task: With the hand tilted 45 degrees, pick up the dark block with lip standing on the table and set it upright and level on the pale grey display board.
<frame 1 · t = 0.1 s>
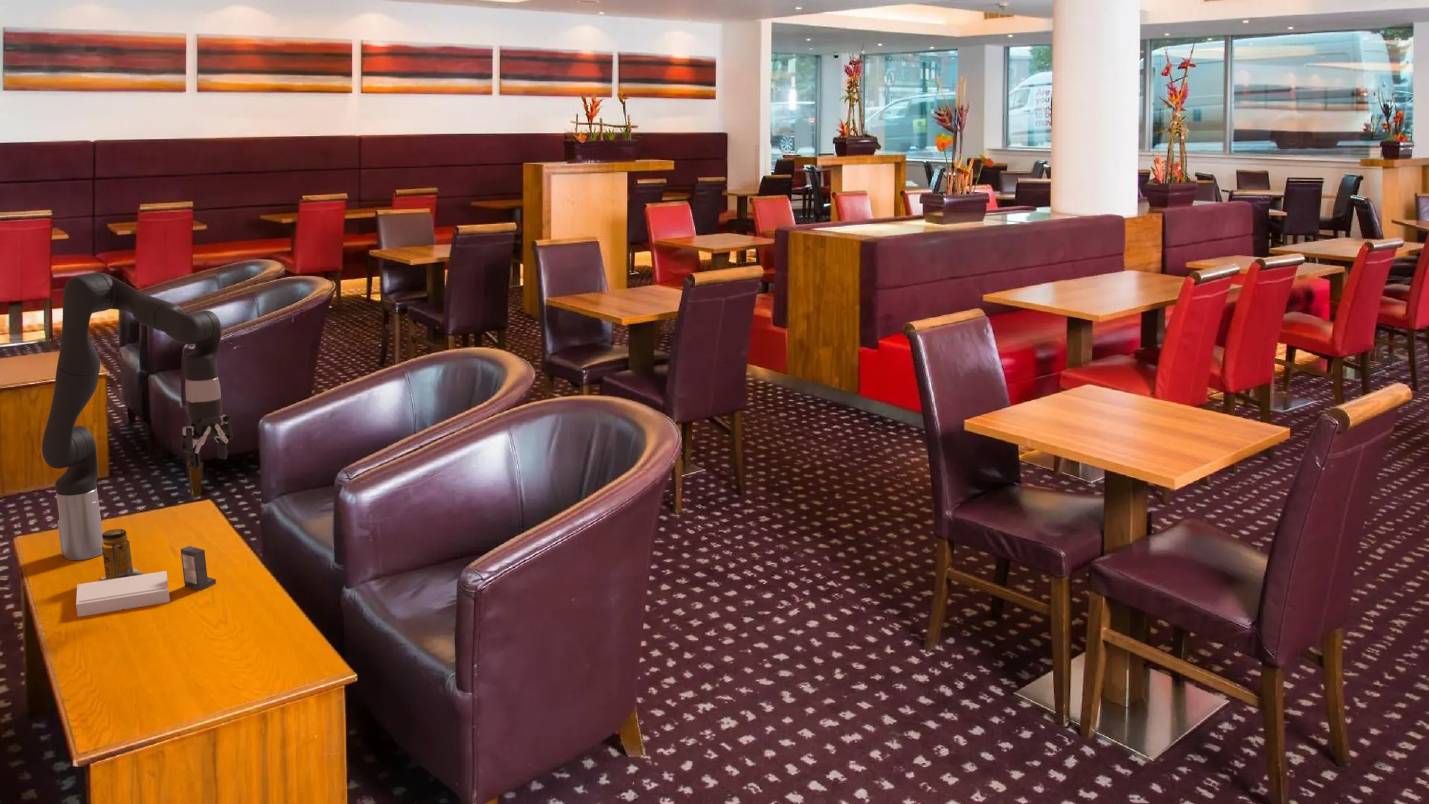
hand: (209, 463, 286), 29 cm above the table, tool pointing down, fingers open, 8 cm apart
display board: (124, 599, 281), on the table
dark block with lip: (196, 586, 288), on the table
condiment: (124, 578, 294), on the table
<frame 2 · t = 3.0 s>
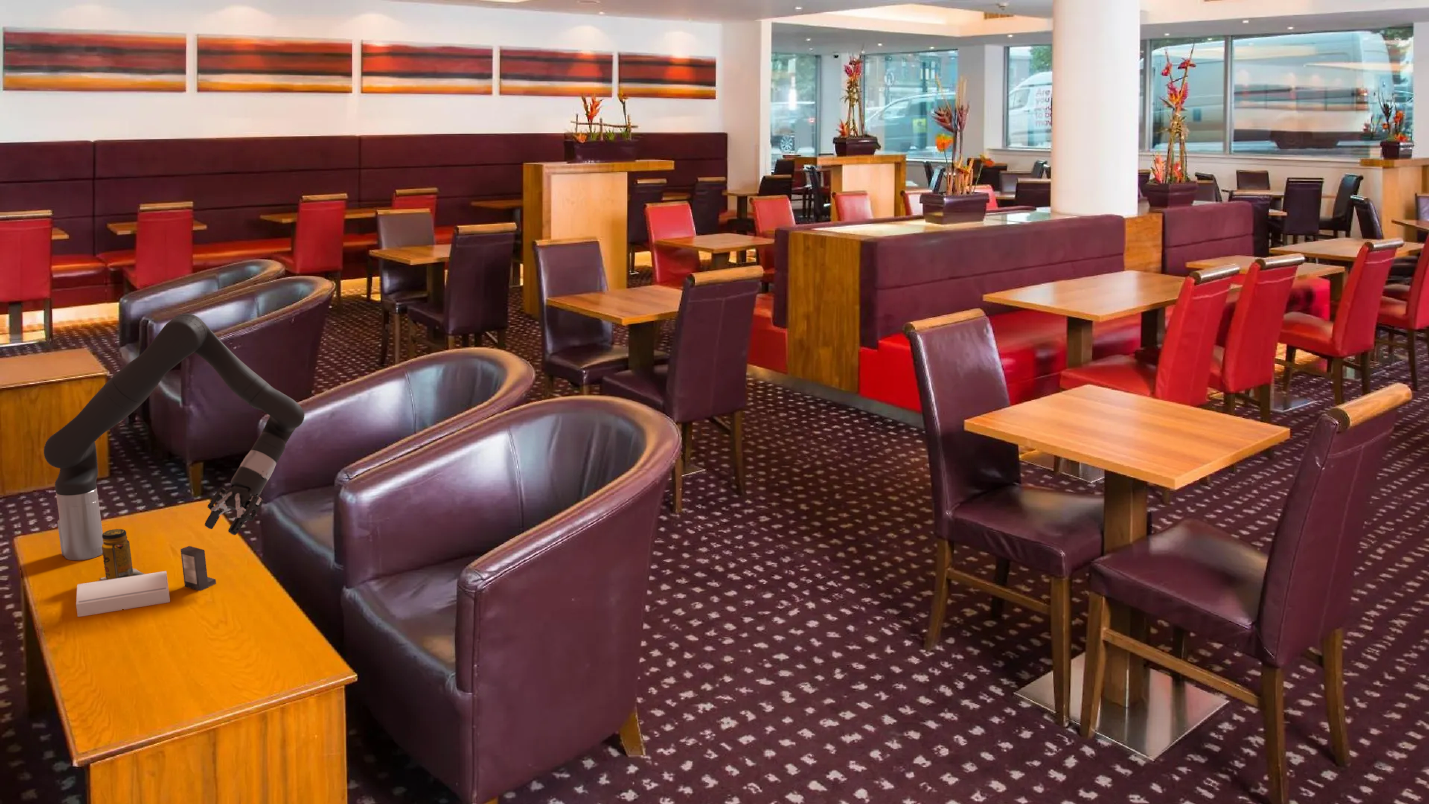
hand: (219, 530, 292), 12 cm above the table, tool tilted 45°, fingers open, 8 cm apart
nothing on the table moved.
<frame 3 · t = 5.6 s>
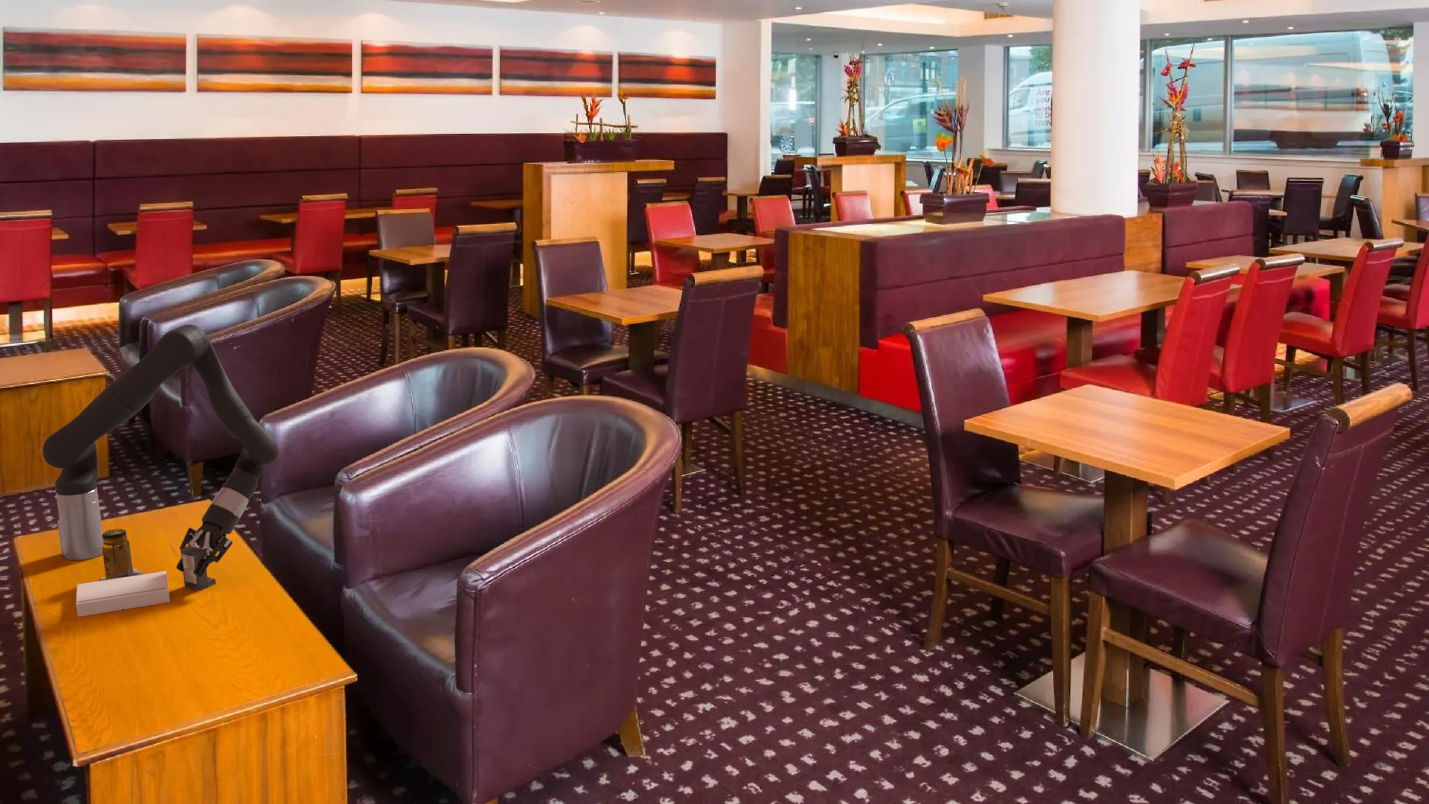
hand: (188, 572, 286), 4 cm above the table, tool tilted 45°, fingers closed on dark block with lip, 5 cm apart
dark block with lip: (196, 586, 288), on the table, touching gripper
everything else where it was.
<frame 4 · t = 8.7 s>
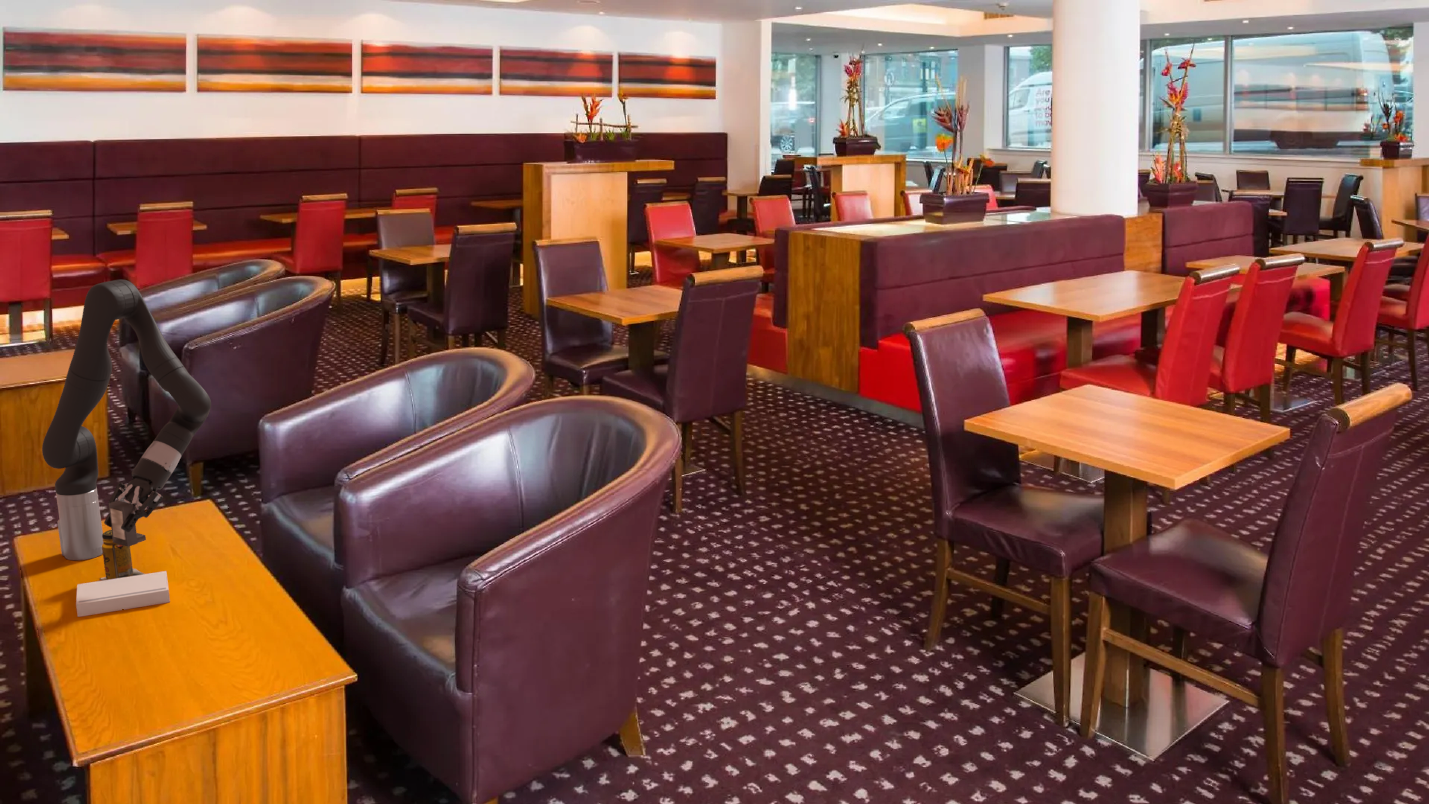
hand: (116, 527, 276), 18 cm above the table, tool tilted 45°, fingers closed on dark block with lip, 5 cm apart
dark block with lip: (125, 542, 279), point 13 cm above the table, touching gripper
everything else where it was.
when the fingers open (9 cm above the table, at t = 11.7 s): dark block with lip drops 1 cm, resting on display board.
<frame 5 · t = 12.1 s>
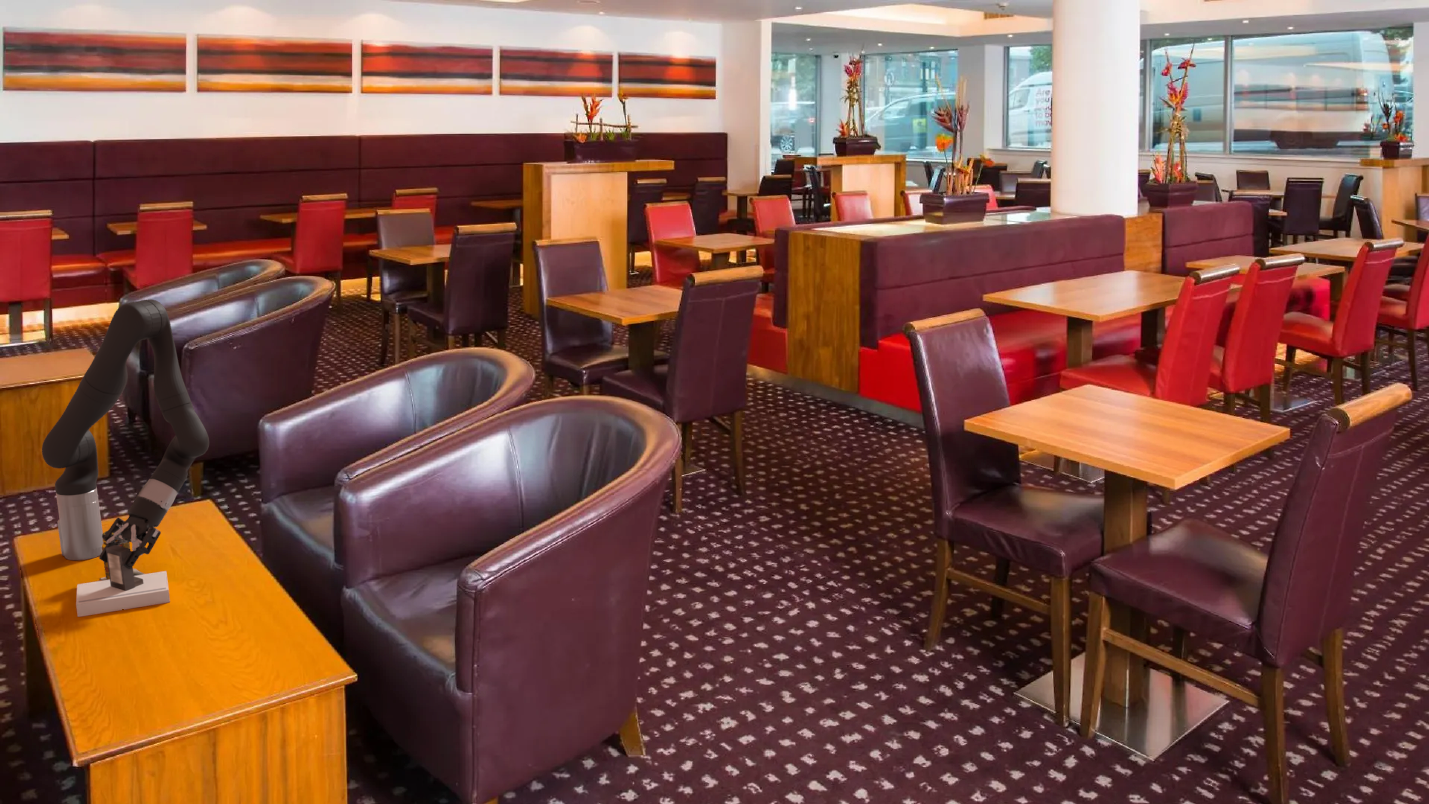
hand: (114, 564, 278), 9 cm above the table, tool tilted 45°, fingers open, 8 cm apart
dark block with lip: (122, 587, 280), point 3 cm above the table, touching display board
everything else where it was.
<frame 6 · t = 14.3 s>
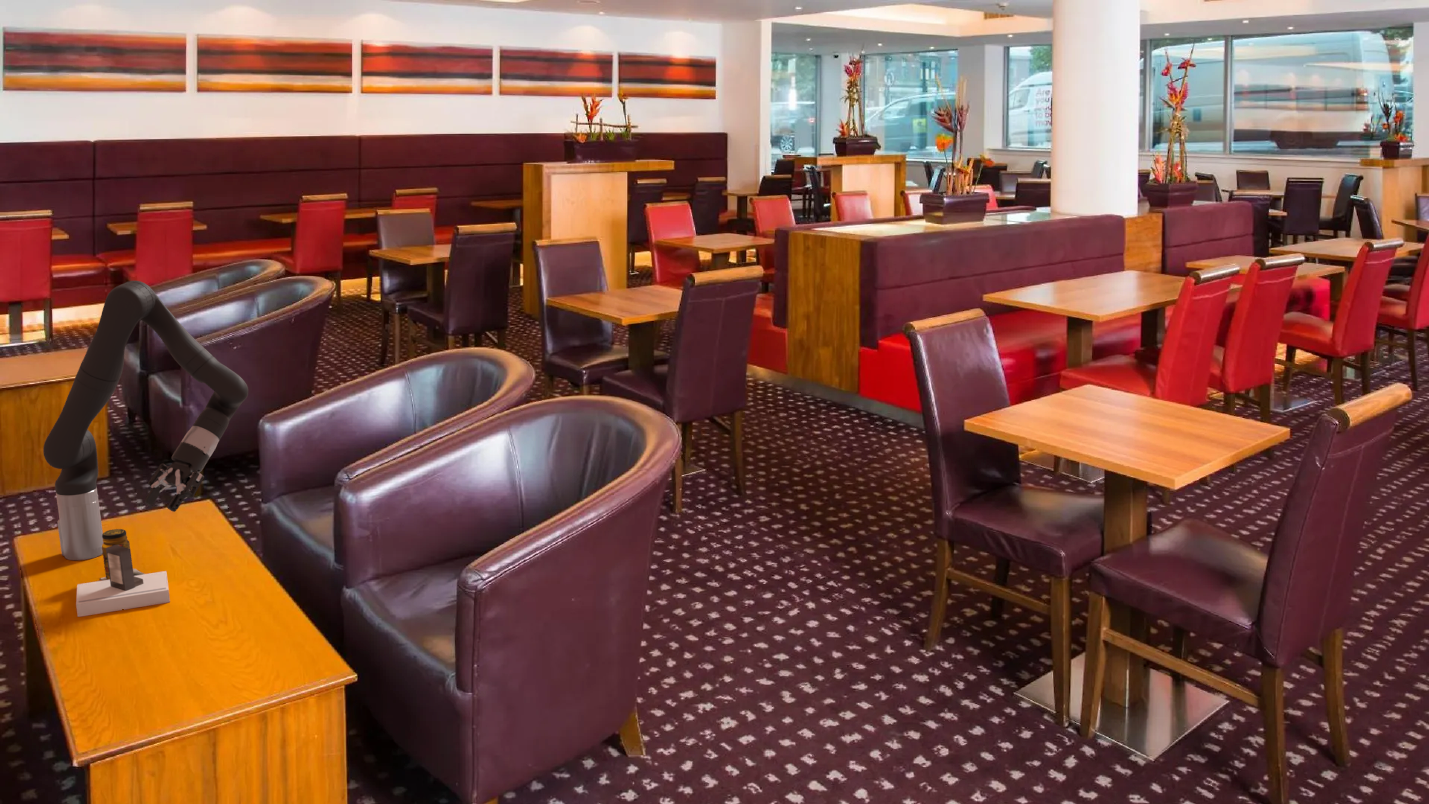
hand: (159, 507, 286), 19 cm above the table, tool tilted 45°, fingers open, 8 cm apart
nothing on the table moved.
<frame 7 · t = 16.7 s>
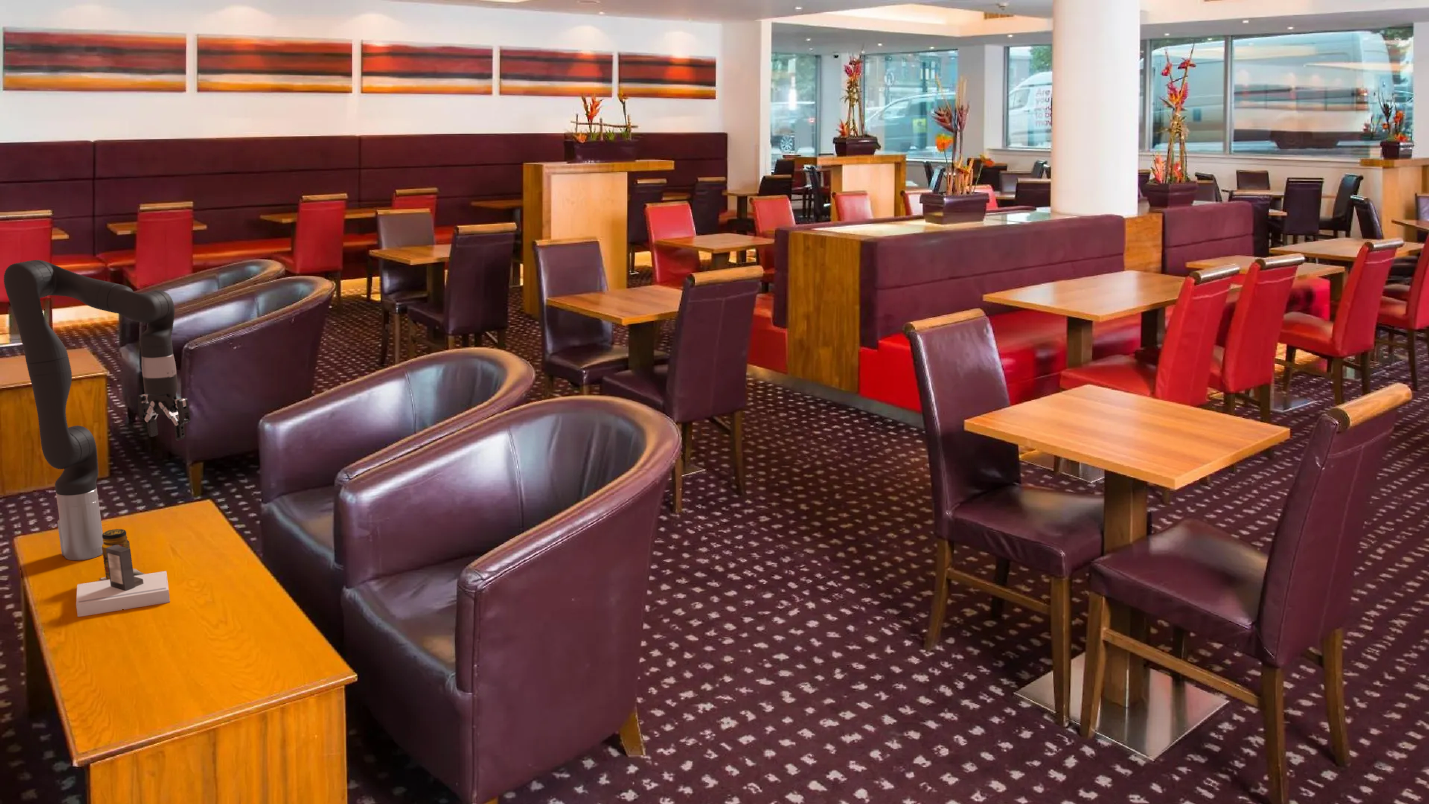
hand: (166, 437, 297), 32 cm above the table, tool pointing down, fingers open, 8 cm apart
nothing on the table moved.
at the end: dark block with lip inside the target area on the display board (0.1 cm from its centre), point 3.0 cm above the display board's base; dark block with lip tilted 0°; the gripper is holding nothing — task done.
